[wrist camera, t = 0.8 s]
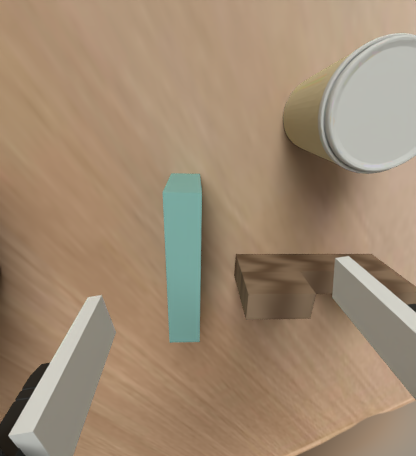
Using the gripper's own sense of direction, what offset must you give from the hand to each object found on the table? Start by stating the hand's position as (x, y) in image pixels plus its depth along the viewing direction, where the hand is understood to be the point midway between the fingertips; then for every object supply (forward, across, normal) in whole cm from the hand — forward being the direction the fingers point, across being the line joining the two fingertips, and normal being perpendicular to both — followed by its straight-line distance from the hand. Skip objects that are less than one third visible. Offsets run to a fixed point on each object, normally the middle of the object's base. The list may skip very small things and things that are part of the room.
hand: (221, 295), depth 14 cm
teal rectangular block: (+20, -3, -5) cm, 20 cm away
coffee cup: (+20, +14, +8) cm, 25 cm away
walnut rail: (+19, +13, -12) cm, 26 cm away
